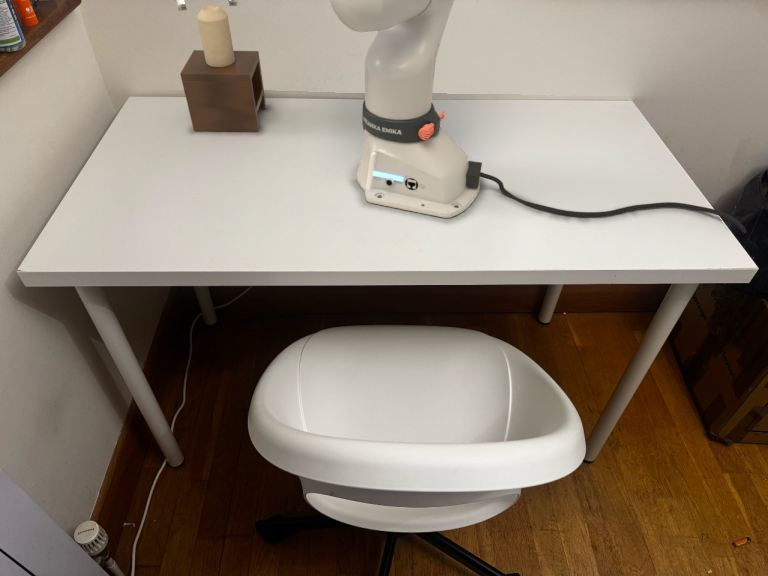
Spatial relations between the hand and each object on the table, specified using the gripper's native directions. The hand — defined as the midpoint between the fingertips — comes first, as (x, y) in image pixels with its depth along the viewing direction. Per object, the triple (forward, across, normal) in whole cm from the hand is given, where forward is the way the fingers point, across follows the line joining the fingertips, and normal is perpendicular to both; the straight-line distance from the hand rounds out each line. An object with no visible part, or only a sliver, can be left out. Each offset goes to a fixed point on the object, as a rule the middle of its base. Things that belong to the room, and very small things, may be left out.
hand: (208, 6), depth 107 cm
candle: (+10, 0, +3) cm, 10 cm away
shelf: (+18, 0, +11) cm, 21 cm away
